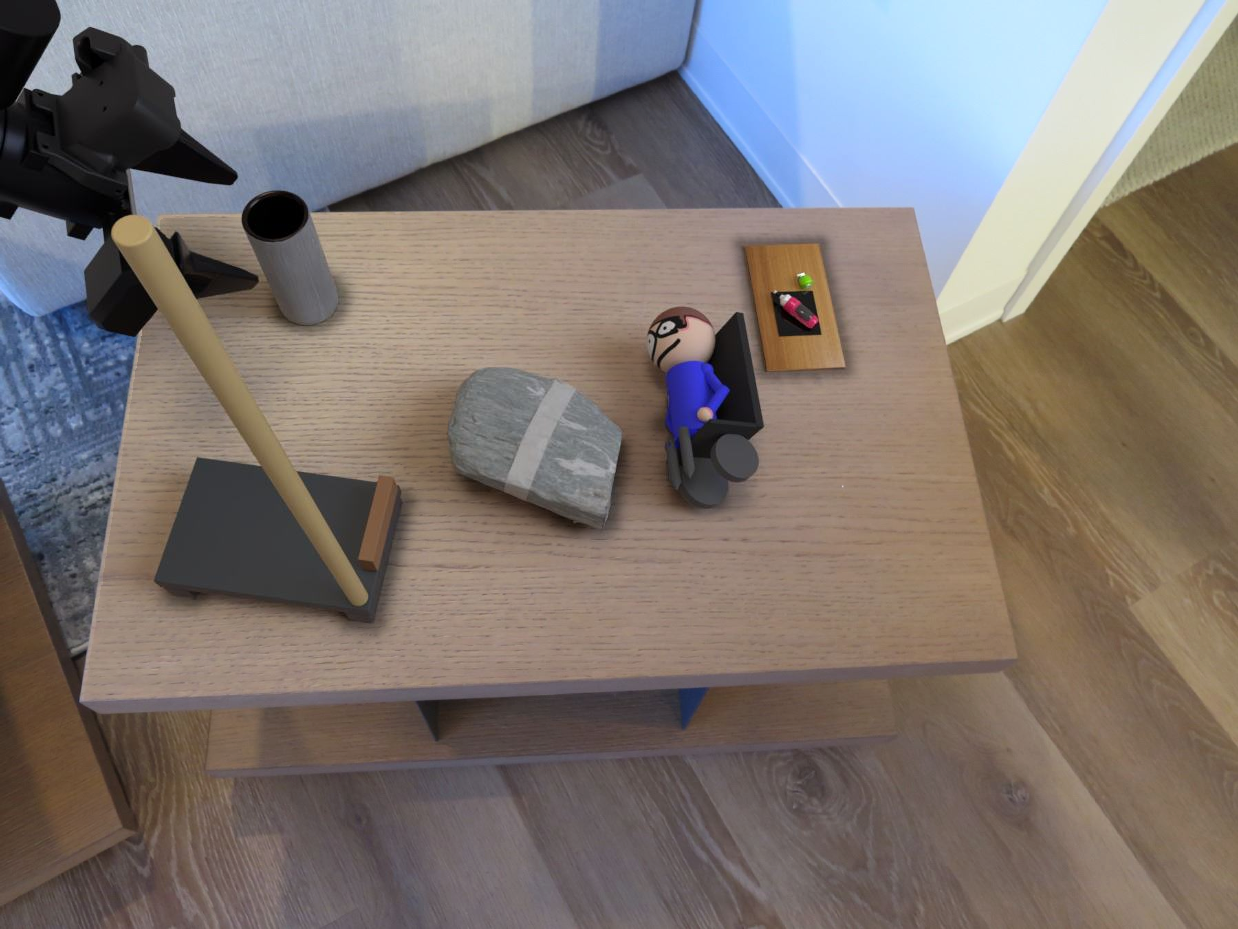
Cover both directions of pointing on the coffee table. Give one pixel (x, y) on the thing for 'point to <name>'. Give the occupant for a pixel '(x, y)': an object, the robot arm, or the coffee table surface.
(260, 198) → the planter
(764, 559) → the coffee table surface
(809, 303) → the board
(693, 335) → the character figurine
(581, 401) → the decorative stone
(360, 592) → the stand with wooden pole
